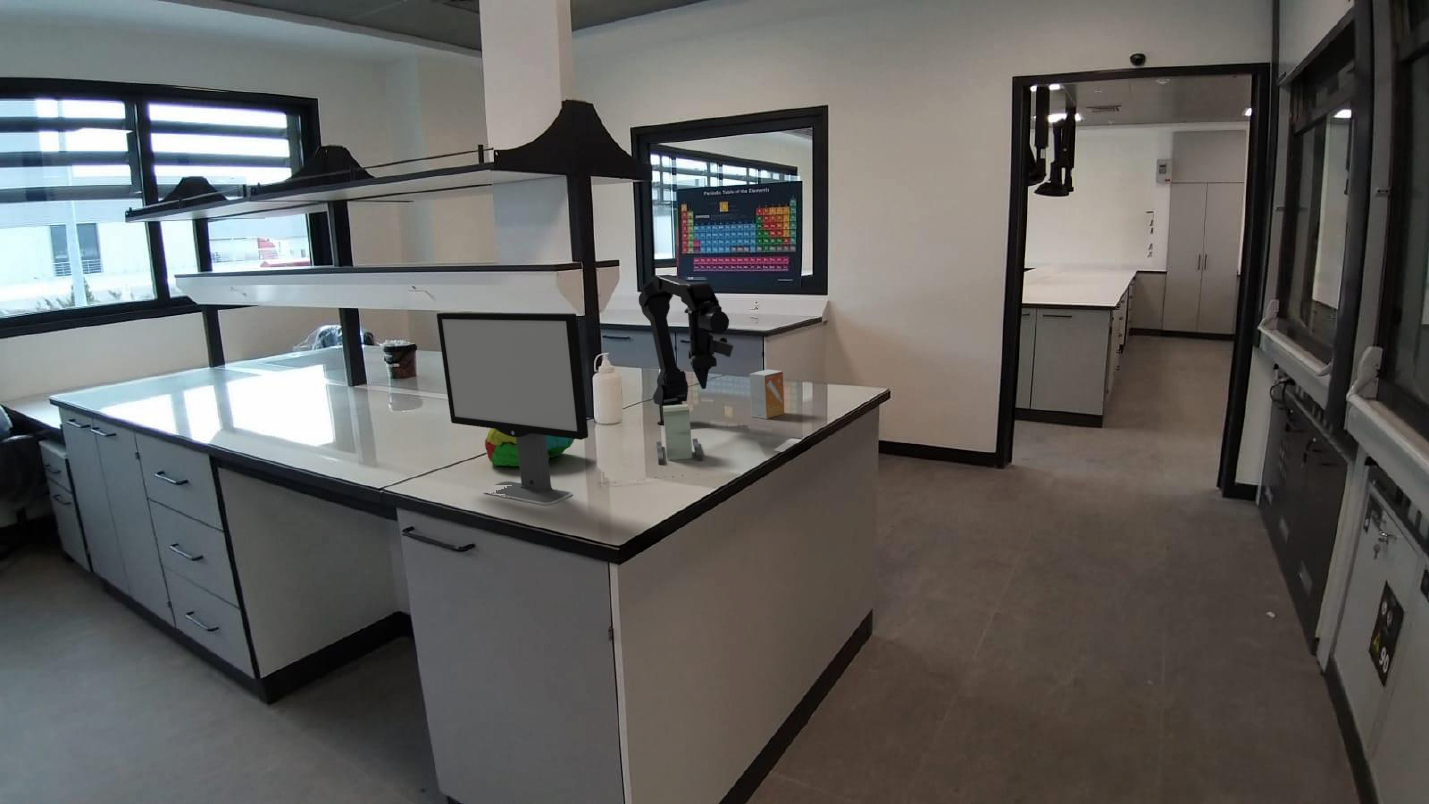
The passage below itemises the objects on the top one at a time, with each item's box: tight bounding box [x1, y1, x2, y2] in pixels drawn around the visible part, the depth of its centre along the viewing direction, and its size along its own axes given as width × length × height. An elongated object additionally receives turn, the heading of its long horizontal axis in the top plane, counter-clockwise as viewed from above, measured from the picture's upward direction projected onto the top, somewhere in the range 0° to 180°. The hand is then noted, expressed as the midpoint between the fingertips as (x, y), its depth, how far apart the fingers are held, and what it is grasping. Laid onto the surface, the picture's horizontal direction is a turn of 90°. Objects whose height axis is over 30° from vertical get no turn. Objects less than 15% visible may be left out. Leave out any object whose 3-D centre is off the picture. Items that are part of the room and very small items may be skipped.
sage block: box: [663, 403, 693, 461], centre depth 188 cm, size 6×6×12 cm
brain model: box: [484, 428, 575, 467], centre depth 197 cm, size 24×19×15 cm
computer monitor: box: [436, 311, 589, 506], centre depth 169 cm, size 41×8×40 cm, turn 56°
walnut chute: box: [656, 437, 704, 466], centre depth 192 cm, size 16×12×3 cm
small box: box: [749, 369, 785, 420], centre depth 230 cm, size 8×6×13 cm
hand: (703, 388), depth 210 cm, fingers closed
